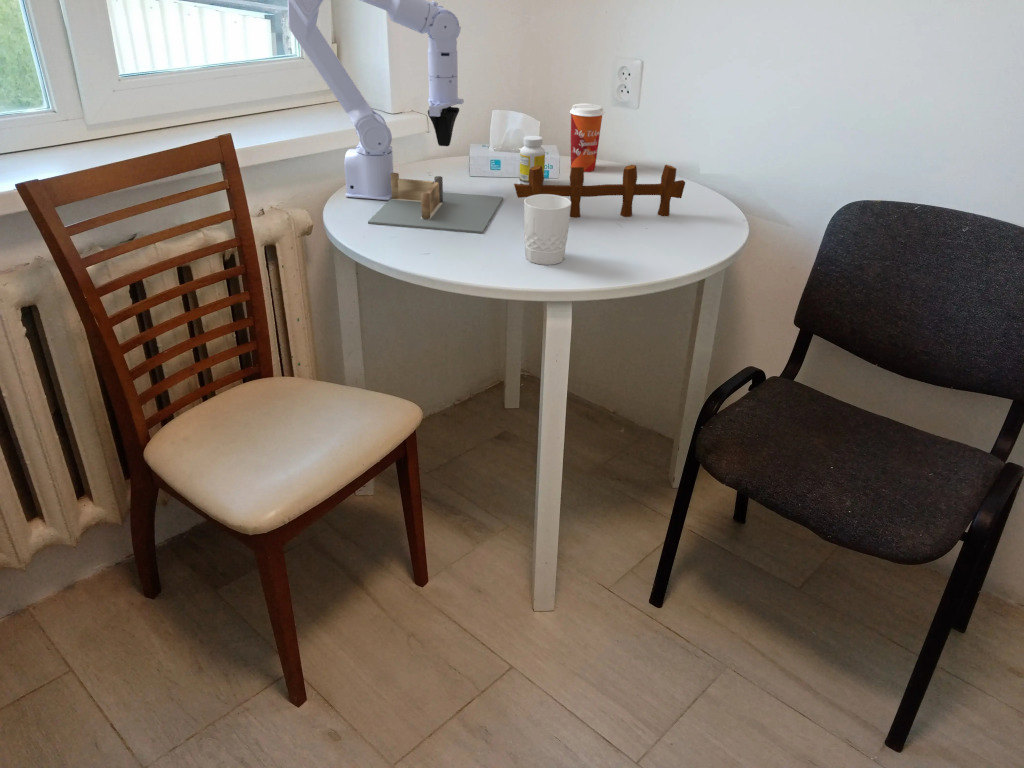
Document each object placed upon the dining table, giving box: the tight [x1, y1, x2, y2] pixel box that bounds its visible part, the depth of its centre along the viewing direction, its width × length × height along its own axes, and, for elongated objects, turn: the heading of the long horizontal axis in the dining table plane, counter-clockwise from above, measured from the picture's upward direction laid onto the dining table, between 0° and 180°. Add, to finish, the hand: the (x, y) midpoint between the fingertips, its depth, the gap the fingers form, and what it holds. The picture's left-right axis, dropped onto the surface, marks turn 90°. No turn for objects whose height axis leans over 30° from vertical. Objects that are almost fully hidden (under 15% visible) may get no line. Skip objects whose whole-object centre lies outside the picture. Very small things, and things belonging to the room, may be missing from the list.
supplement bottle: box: [519, 135, 546, 185], centre depth 171 cm, size 5×5×10 cm
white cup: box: [523, 194, 571, 266], centre depth 134 cm, size 8×8×10 cm
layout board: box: [367, 191, 504, 235], centre depth 156 cm, size 22×21×1 cm
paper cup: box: [569, 102, 605, 173], centre depth 181 cm, size 8×8×14 cm
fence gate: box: [421, 182, 440, 219], centre depth 153 cm, size 10×2×5 cm, turn 170°
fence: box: [513, 164, 686, 219], centre depth 154 cm, size 34×3×10 cm, turn 97°
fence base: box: [391, 172, 444, 203], centre depth 159 cm, size 11×2×5 cm, turn 80°
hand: (444, 145), depth 163 cm, fingers closed
